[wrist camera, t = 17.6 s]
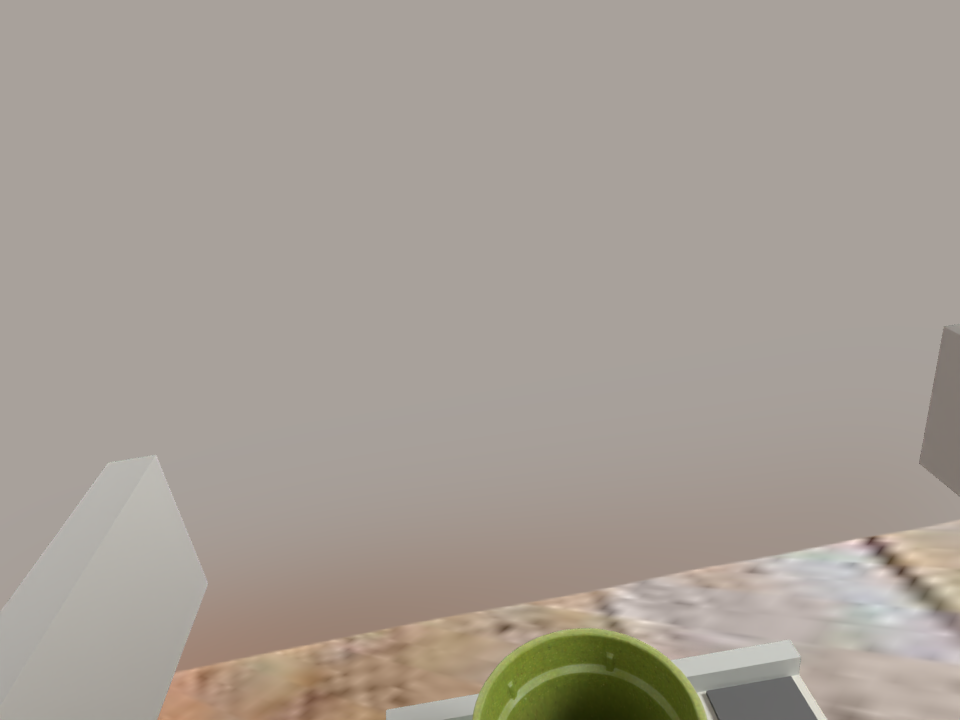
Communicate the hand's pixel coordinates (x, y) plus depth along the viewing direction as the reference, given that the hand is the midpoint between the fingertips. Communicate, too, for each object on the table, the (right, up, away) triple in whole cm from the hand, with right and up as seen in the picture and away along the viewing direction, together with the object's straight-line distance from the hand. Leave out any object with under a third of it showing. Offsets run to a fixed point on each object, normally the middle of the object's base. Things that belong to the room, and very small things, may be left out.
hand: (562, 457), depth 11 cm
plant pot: (+4, -21, +19) cm, 29 cm away
